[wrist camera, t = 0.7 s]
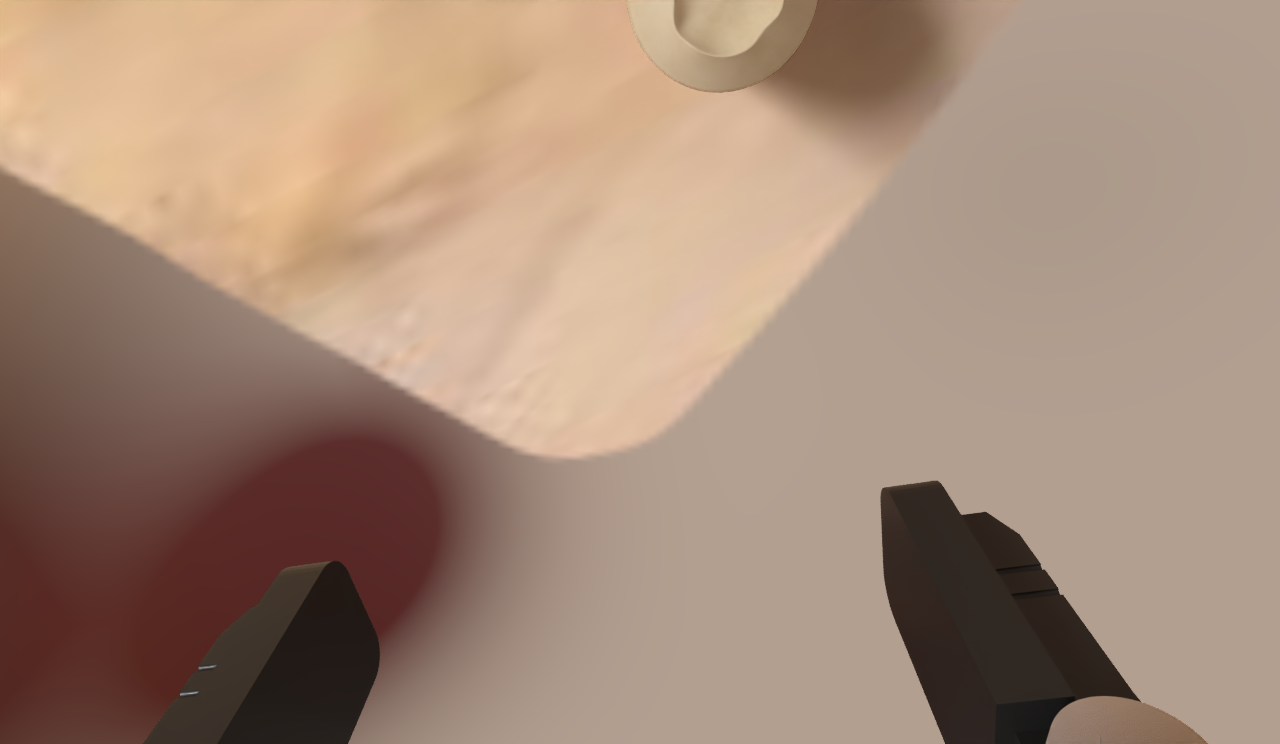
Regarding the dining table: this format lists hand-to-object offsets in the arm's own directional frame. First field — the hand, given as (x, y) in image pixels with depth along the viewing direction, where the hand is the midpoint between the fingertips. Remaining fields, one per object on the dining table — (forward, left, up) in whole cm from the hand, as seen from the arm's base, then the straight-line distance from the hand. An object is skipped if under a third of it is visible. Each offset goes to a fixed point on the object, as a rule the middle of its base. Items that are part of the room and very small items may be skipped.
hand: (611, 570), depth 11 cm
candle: (-5, +5, -25) cm, 25 cm away
